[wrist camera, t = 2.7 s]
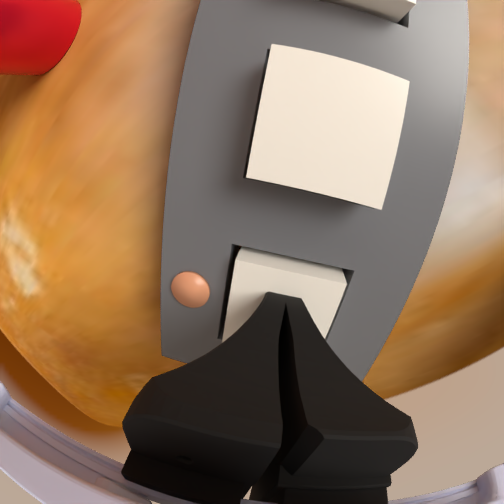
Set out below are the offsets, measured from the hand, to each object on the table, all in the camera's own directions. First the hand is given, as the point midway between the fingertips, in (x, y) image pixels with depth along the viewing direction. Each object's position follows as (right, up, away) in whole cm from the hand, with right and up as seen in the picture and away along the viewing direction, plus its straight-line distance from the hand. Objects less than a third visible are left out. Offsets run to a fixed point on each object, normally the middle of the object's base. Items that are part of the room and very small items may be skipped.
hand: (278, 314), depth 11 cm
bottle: (-13, +15, -1) cm, 20 cm away
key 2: (+1, +1, +3) cm, 4 cm away
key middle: (+2, +7, 0) cm, 8 cm away
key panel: (+2, +7, 0) cm, 8 cm away
